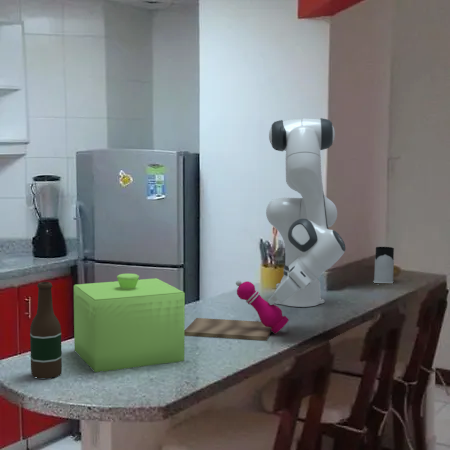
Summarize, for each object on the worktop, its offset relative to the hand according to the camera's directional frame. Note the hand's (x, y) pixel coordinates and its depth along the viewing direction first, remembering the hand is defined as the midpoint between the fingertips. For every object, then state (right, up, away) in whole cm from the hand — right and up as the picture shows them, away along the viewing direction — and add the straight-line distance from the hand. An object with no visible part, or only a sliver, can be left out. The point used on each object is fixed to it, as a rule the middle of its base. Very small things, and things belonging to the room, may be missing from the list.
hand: (269, 302), depth 232 cm
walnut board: (-12, -9, +4) cm, 16 cm away
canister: (-41, -13, -24) cm, 49 cm away
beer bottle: (-60, -14, -41) cm, 74 cm away
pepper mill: (+4, -8, 0) cm, 9 cm away
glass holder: (+54, 0, +86) cm, 102 cm away
